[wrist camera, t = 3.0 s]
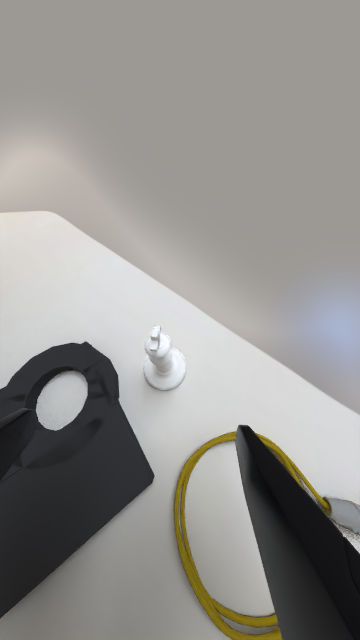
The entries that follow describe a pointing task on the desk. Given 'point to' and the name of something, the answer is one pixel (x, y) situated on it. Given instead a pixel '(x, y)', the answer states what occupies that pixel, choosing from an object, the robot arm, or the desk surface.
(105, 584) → the desk surface
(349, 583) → the robot arm
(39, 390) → the socket pad
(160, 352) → the chess piece
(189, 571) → the extension cord
